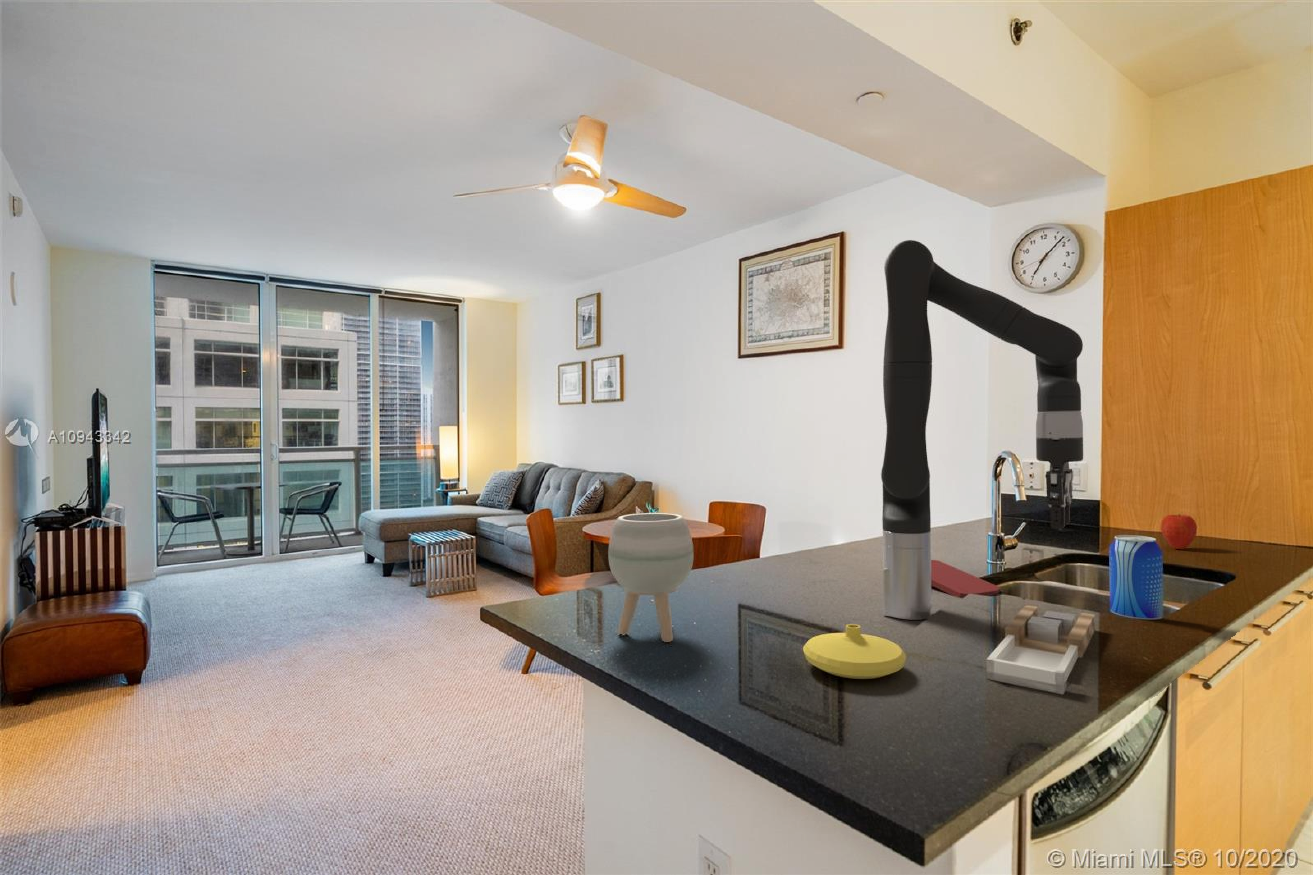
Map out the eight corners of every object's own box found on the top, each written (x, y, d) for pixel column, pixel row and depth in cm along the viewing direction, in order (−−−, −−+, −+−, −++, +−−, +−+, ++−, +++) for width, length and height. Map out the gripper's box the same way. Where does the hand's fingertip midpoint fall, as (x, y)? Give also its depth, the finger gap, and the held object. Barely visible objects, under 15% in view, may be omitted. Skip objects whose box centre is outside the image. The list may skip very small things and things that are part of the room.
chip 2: (1047, 626, 121) (1047, 610, 121) (1076, 631, 118) (1075, 614, 118) (1042, 633, 117) (1042, 616, 117) (1072, 637, 114) (1072, 620, 114)
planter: (592, 636, 124) (589, 518, 124) (650, 617, 136) (648, 509, 136) (654, 655, 113) (652, 525, 113) (712, 632, 125) (710, 515, 125)
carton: (1002, 609, 151) (922, 572, 174) (1005, 589, 150) (924, 554, 173) (962, 616, 146) (885, 576, 169) (964, 595, 145) (887, 558, 168)
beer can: (1148, 628, 122) (1147, 542, 122) (1101, 617, 130) (1099, 536, 130) (1172, 621, 126) (1171, 538, 126) (1124, 611, 134) (1123, 533, 134)
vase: (795, 653, 113) (794, 612, 113) (887, 653, 112) (887, 612, 112) (814, 689, 97) (813, 642, 97) (922, 689, 96) (921, 641, 96)
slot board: (1025, 626, 125) (1025, 605, 125) (1094, 636, 118) (1094, 614, 118) (1005, 651, 111) (1005, 627, 111) (1081, 665, 104) (1081, 640, 104)
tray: (1008, 651, 111) (1008, 634, 111) (1078, 664, 105) (1077, 645, 105) (986, 678, 100) (986, 659, 100) (1063, 694, 93) (1063, 673, 93)
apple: (1171, 551, 193) (1171, 515, 193) (1154, 546, 202) (1154, 511, 202) (1204, 552, 192) (1203, 515, 192) (1185, 547, 200) (1185, 511, 200)
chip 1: (1032, 633, 117) (1032, 616, 117) (1062, 637, 114) (1061, 620, 114) (1027, 639, 114) (1027, 622, 114) (1058, 644, 111) (1057, 626, 111)
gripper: (1043, 435, 131) (1044, 519, 131) (1029, 436, 120) (1030, 529, 120) (1087, 435, 126) (1088, 522, 126) (1077, 436, 115) (1078, 532, 115)
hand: (1060, 525), depth 123 cm, fingers open, 5 cm apart
